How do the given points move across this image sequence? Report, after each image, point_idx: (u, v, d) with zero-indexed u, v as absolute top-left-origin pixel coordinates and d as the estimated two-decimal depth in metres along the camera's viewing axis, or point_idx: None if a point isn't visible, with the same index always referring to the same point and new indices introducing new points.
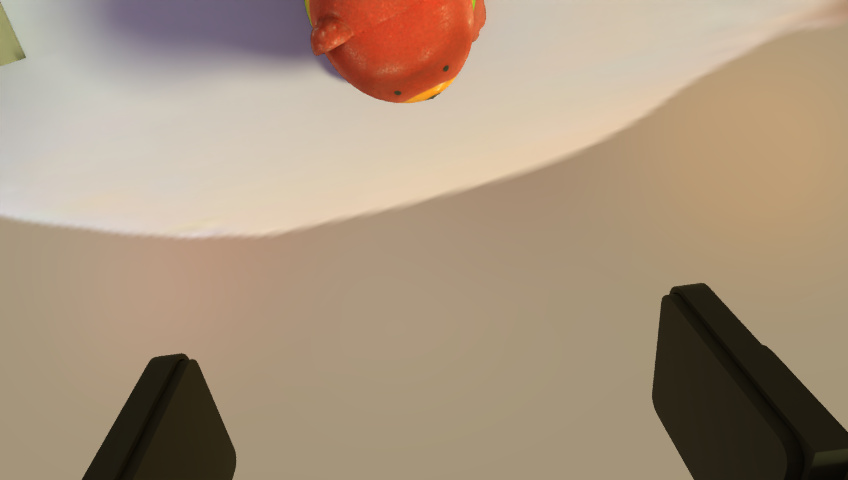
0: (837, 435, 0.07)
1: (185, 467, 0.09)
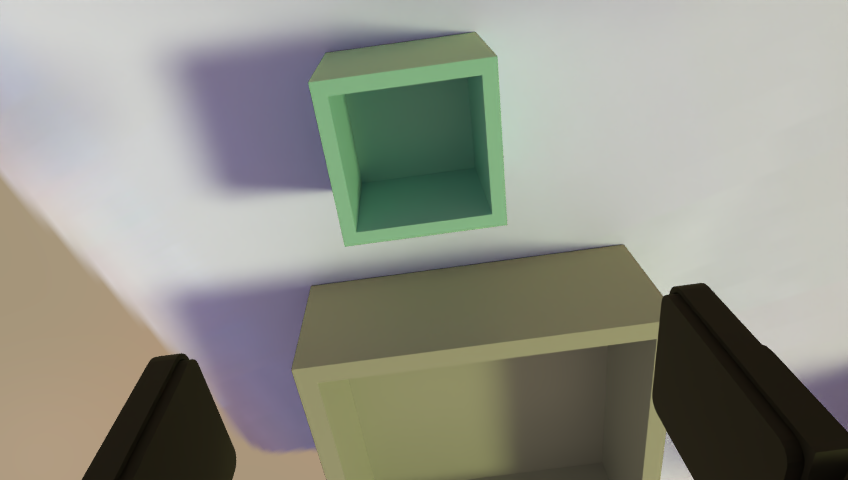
0: (837, 435, 0.07)
1: (185, 467, 0.09)
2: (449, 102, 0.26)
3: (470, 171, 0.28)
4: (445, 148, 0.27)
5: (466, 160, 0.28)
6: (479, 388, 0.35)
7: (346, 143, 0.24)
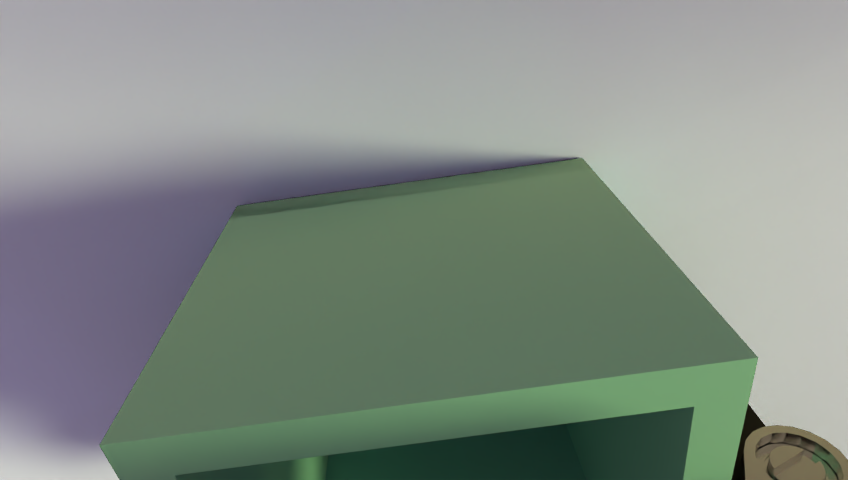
0: None
1: None
2: None
3: (554, 428, 0.13)
4: None
5: None
6: None
7: None
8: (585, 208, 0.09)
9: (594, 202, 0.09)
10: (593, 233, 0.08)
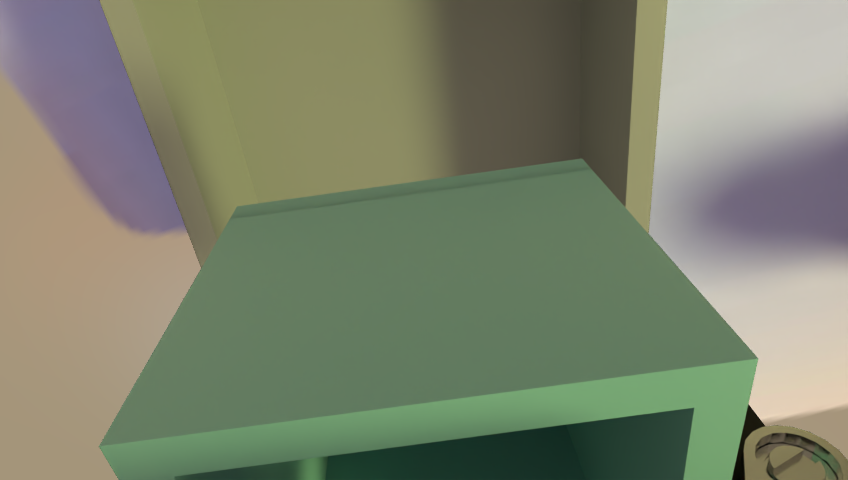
0: None
1: None
2: None
3: (554, 428, 0.13)
4: None
5: None
6: (408, 117, 0.26)
7: None
8: (585, 209, 0.09)
9: (594, 203, 0.09)
10: (593, 234, 0.08)
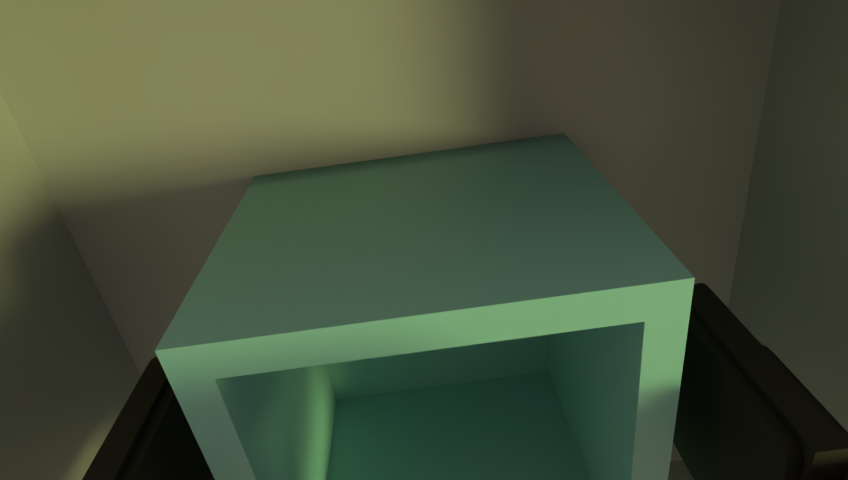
0: (837, 435, 0.07)
1: (185, 467, 0.09)
2: None
3: (541, 383, 0.14)
4: (495, 343, 0.14)
5: (533, 360, 0.15)
6: None
7: (292, 391, 0.11)
8: (563, 172, 0.10)
9: (571, 168, 0.11)
10: (569, 191, 0.10)
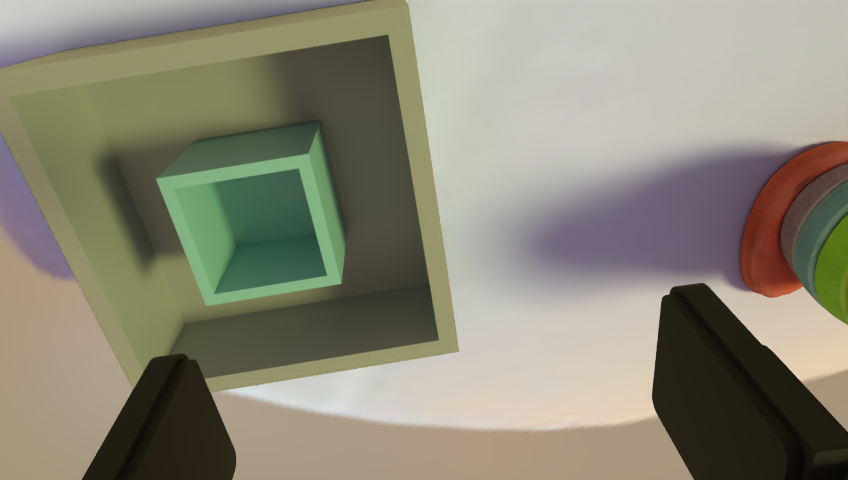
0: (837, 435, 0.07)
1: (185, 467, 0.09)
2: None
3: None
4: (306, 215, 0.32)
5: None
6: None
7: (207, 218, 0.29)
8: (305, 132, 0.28)
9: (309, 130, 0.28)
10: (300, 137, 0.28)
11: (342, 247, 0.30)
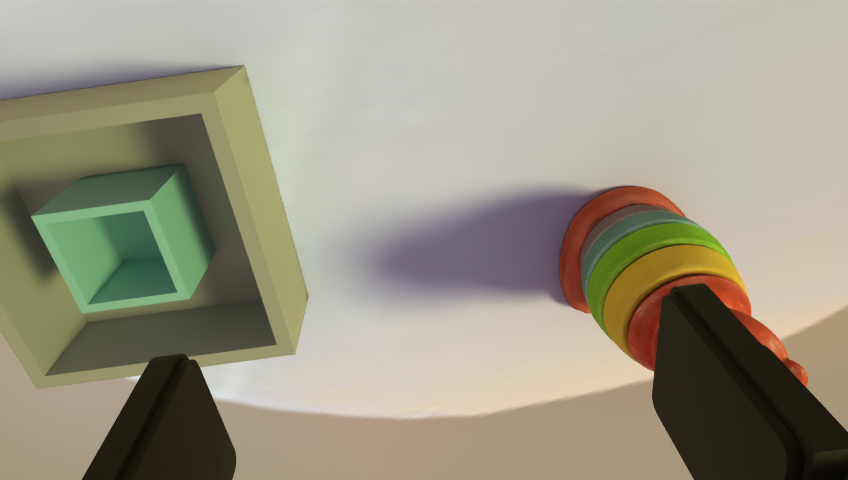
0: (837, 435, 0.07)
1: (185, 467, 0.09)
2: None
3: None
4: None
5: None
6: None
7: (86, 243, 0.36)
8: (163, 176, 0.35)
9: (167, 174, 0.35)
10: (156, 181, 0.34)
11: (201, 267, 0.37)
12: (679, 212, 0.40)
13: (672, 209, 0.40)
